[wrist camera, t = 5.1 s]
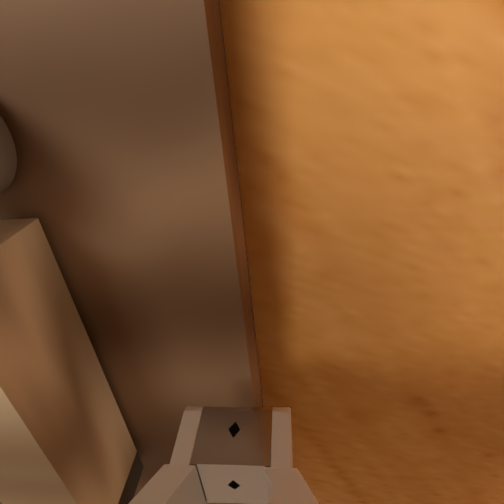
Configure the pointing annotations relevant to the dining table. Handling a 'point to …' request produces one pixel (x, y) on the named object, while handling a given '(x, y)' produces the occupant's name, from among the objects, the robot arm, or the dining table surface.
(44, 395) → the folding leg
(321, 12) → the dining table surface
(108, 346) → the wooden desk organizer
